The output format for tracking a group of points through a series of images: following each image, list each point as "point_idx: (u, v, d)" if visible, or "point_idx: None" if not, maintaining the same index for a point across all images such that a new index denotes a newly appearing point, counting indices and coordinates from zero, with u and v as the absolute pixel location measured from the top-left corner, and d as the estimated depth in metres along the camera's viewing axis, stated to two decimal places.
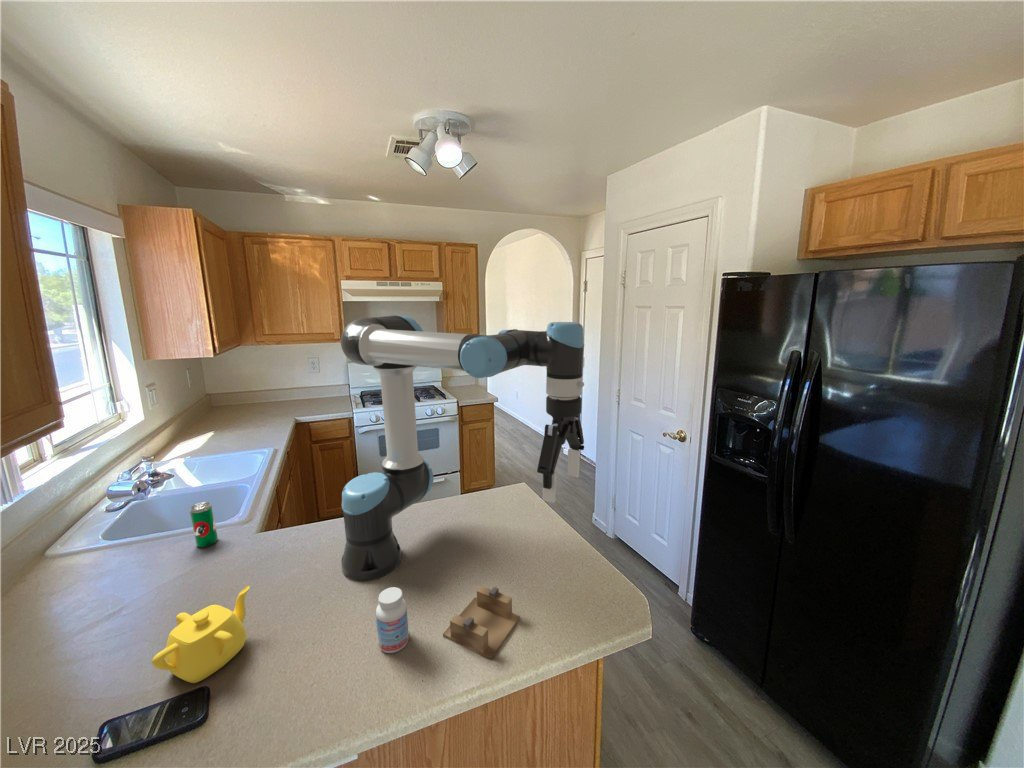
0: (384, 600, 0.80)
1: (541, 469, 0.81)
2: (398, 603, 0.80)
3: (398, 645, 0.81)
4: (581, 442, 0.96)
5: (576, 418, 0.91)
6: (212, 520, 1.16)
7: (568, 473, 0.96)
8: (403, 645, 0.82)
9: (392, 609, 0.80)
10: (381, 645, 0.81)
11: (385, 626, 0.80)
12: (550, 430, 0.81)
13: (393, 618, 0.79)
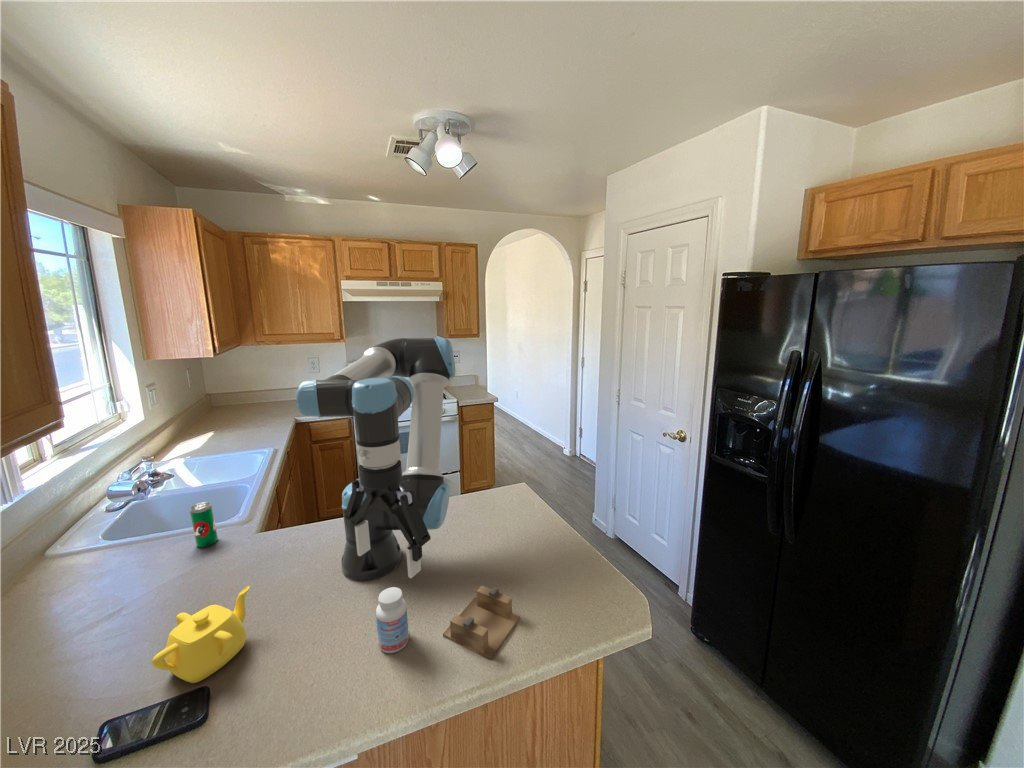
0: (384, 600, 0.80)
1: None
2: (398, 603, 0.80)
3: (398, 645, 0.81)
4: (416, 541, 0.73)
5: None
6: (212, 520, 1.16)
7: None
8: (403, 645, 0.82)
9: (392, 609, 0.80)
10: (381, 645, 0.81)
11: (385, 626, 0.80)
12: None
13: (393, 618, 0.79)
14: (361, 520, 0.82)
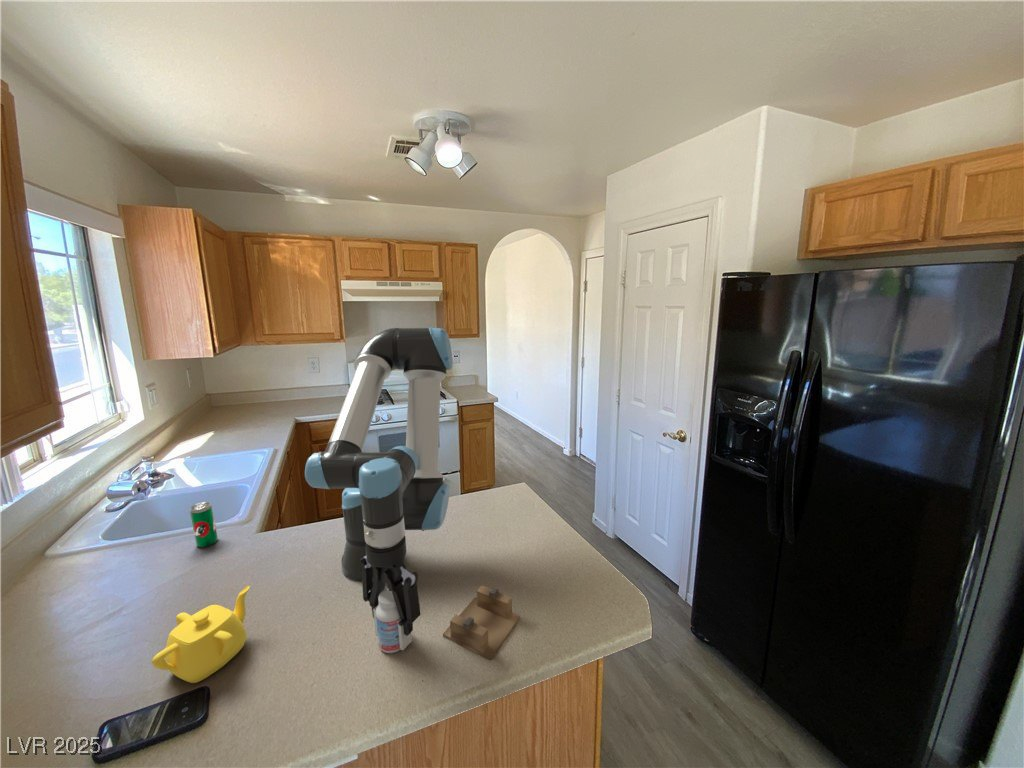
0: (384, 600, 0.80)
1: (369, 592, 0.85)
2: None
3: (398, 645, 0.81)
4: (407, 617, 0.78)
5: (403, 582, 0.77)
6: (212, 520, 1.16)
7: None
8: None
9: (392, 609, 0.80)
10: (381, 645, 0.81)
11: (385, 626, 0.79)
12: None
13: (393, 618, 0.79)
14: None
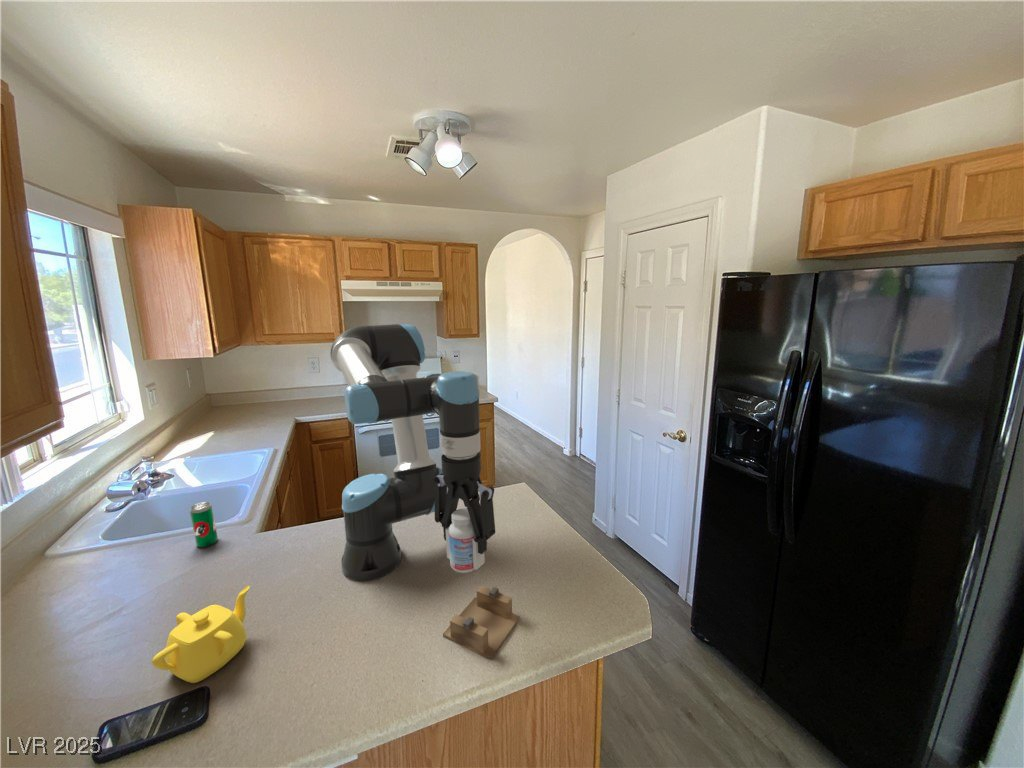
0: (458, 517, 0.79)
1: None
2: None
3: (471, 565, 0.80)
4: (483, 533, 0.77)
5: (480, 495, 0.76)
6: (212, 520, 1.16)
7: None
8: None
9: (466, 527, 0.79)
10: (454, 564, 0.80)
11: (459, 544, 0.78)
12: None
13: (468, 535, 0.78)
14: (451, 522, 0.83)
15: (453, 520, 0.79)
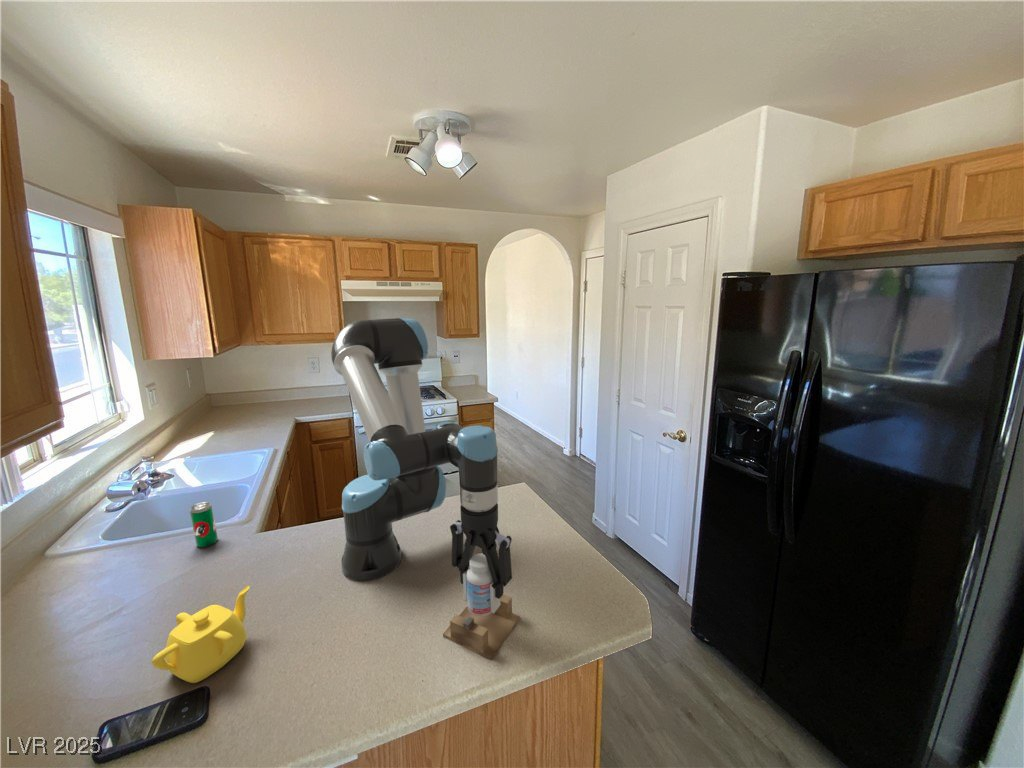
0: (476, 564, 0.82)
1: None
2: None
3: (489, 608, 0.83)
4: (501, 580, 0.81)
5: (498, 545, 0.79)
6: (212, 520, 1.16)
7: None
8: None
9: (484, 573, 0.82)
10: (472, 609, 0.83)
11: (478, 590, 0.82)
12: None
13: (486, 581, 0.82)
14: (467, 566, 0.87)
15: (471, 567, 0.82)
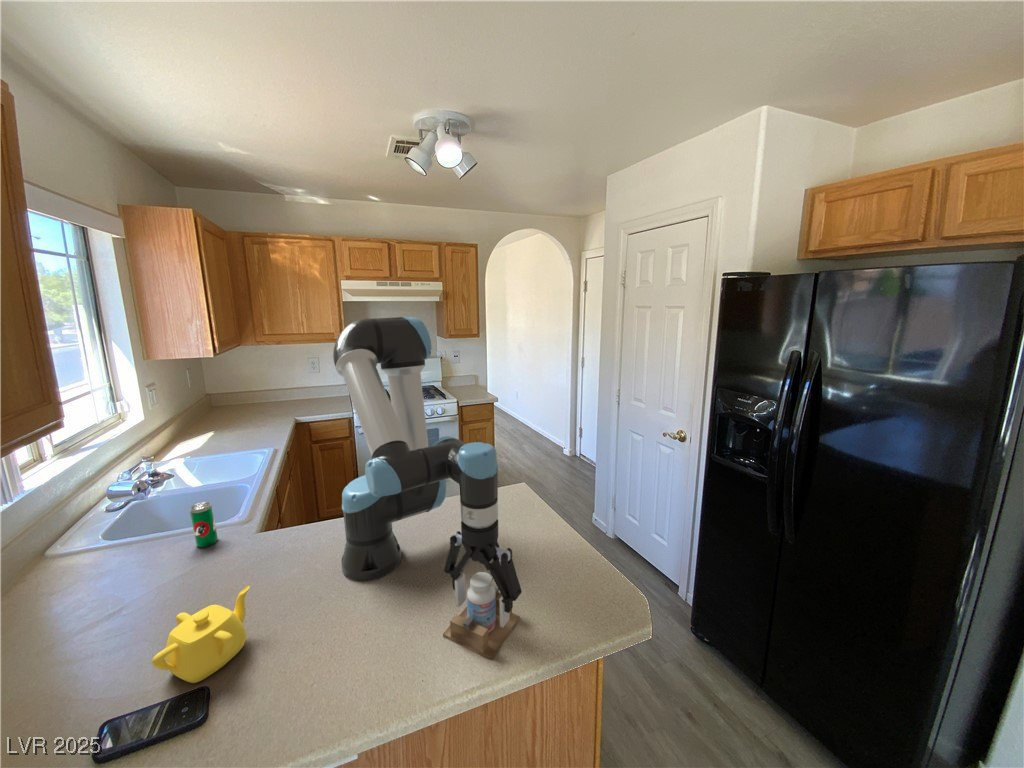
0: (477, 583, 0.83)
1: None
2: (490, 586, 0.84)
3: (489, 627, 0.84)
4: (510, 595, 0.80)
5: (499, 559, 0.80)
6: (212, 520, 1.16)
7: None
8: (493, 627, 0.85)
9: (485, 593, 0.83)
10: None
11: (478, 609, 0.83)
12: None
13: (486, 600, 0.83)
14: (459, 573, 0.88)
15: (472, 586, 0.83)
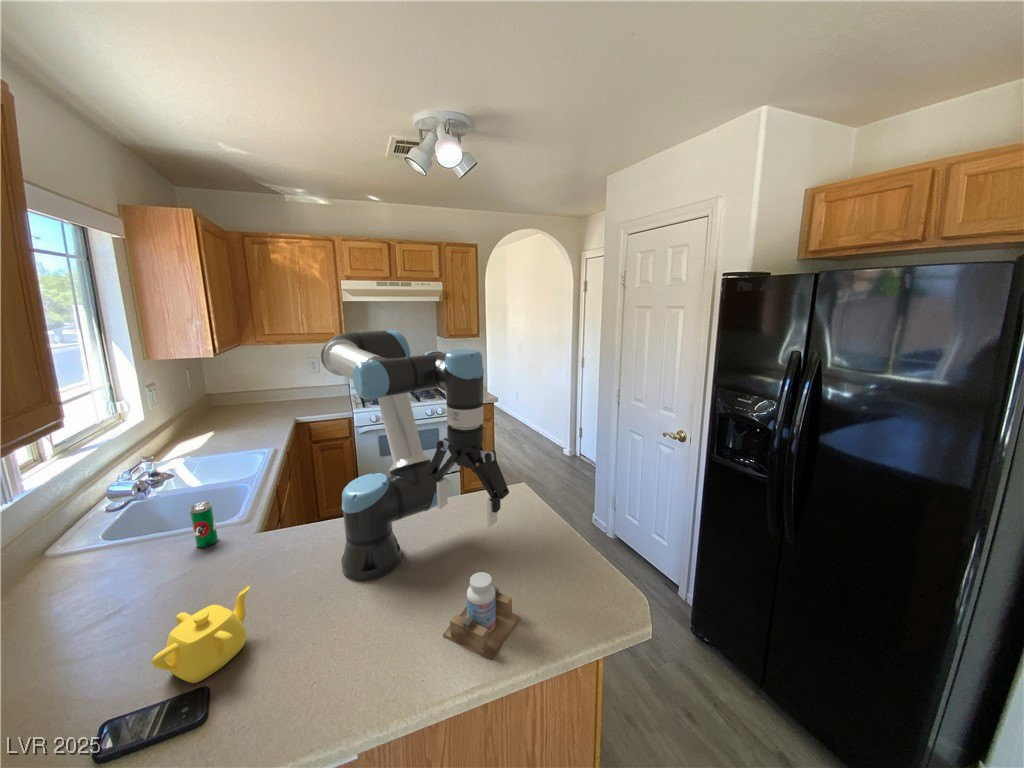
0: (476, 584, 0.83)
1: None
2: (489, 587, 0.84)
3: (489, 627, 0.84)
4: (497, 494, 0.83)
5: (484, 459, 0.83)
6: (212, 520, 1.16)
7: None
8: (493, 628, 0.85)
9: (484, 593, 0.83)
10: None
11: (478, 609, 0.83)
12: None
13: (486, 601, 0.83)
14: (441, 477, 0.92)
15: (472, 586, 0.83)
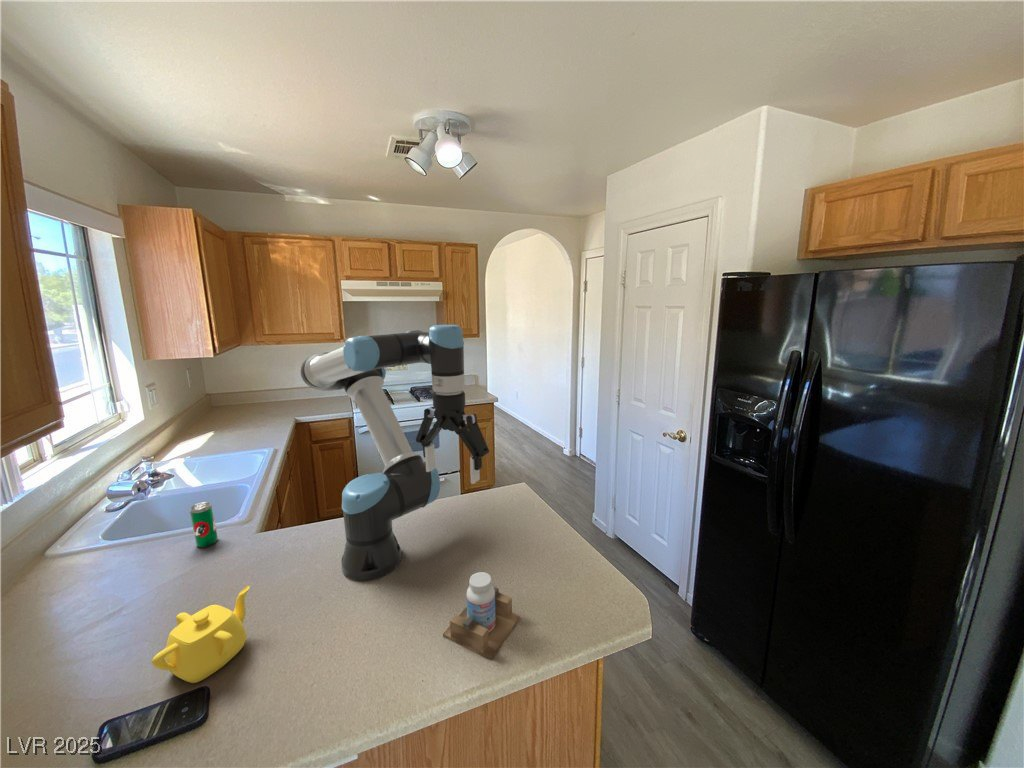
0: (476, 584, 0.83)
1: None
2: (489, 586, 0.84)
3: (488, 627, 0.84)
4: (478, 453, 0.93)
5: None
6: (212, 520, 1.16)
7: None
8: (493, 627, 0.86)
9: (484, 592, 0.83)
10: None
11: (478, 609, 0.83)
12: None
13: (486, 600, 0.83)
14: (429, 443, 1.02)
15: (471, 586, 0.83)
